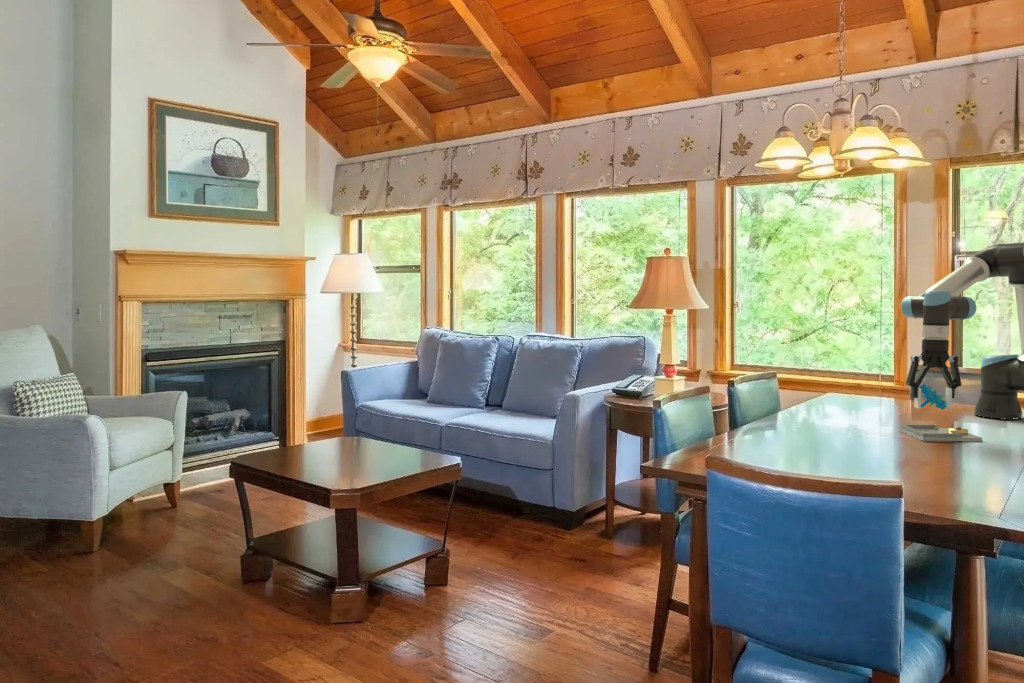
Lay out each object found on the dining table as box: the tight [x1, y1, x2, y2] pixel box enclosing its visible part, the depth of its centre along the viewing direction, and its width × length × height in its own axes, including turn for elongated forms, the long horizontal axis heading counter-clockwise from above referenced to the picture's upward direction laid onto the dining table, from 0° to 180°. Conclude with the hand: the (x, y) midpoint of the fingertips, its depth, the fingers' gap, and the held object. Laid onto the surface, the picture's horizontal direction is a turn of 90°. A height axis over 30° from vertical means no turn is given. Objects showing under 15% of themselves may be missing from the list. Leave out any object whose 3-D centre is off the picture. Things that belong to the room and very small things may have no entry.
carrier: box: [899, 423, 983, 443], centre depth 246 cm, size 18×16×3 cm
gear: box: [918, 383, 947, 410], centre depth 247 cm, size 11×6×10 cm
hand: (932, 408), depth 246 cm, fingers closed on gear, 9 cm apart
